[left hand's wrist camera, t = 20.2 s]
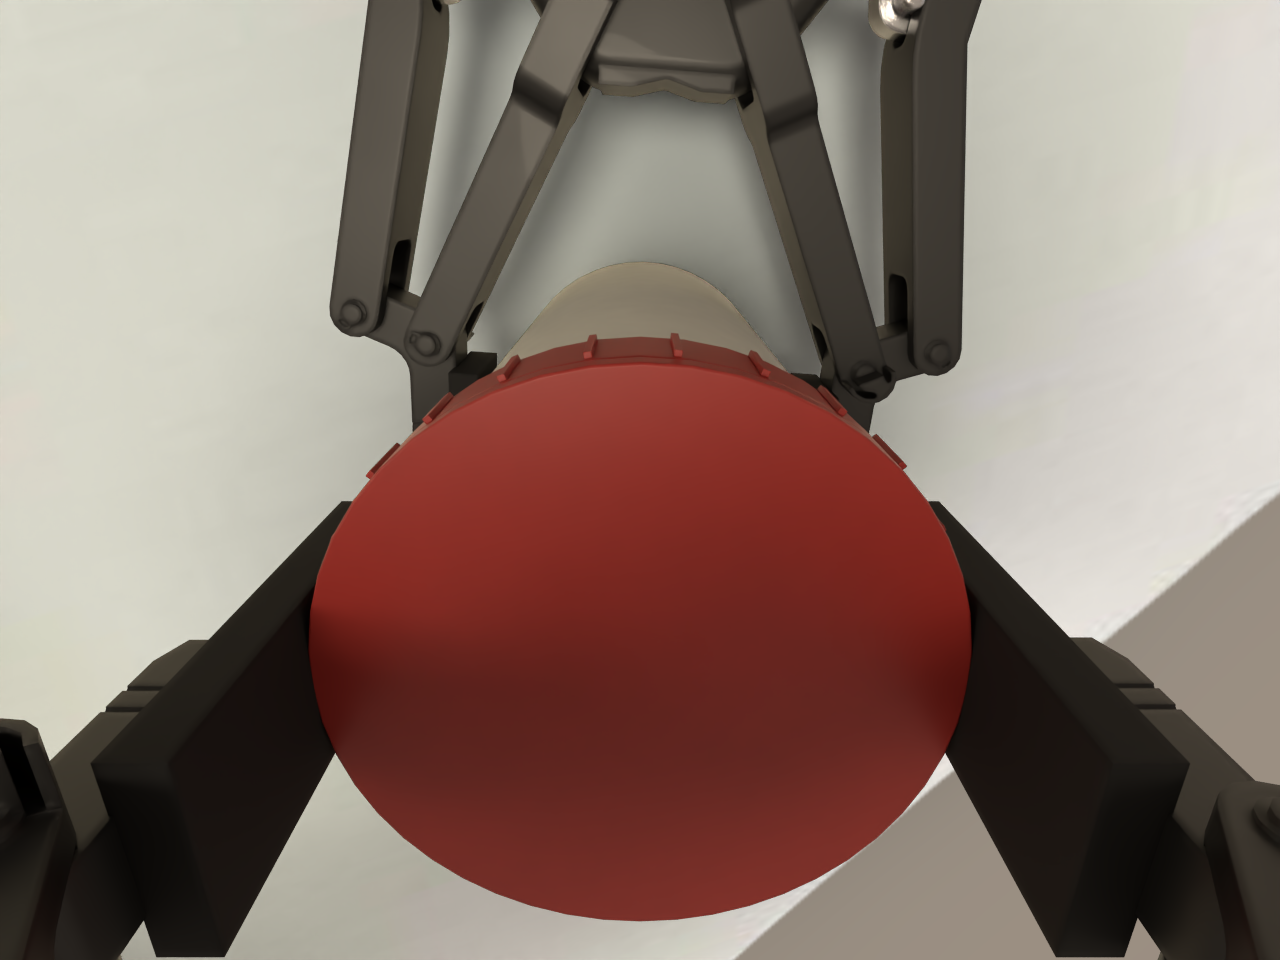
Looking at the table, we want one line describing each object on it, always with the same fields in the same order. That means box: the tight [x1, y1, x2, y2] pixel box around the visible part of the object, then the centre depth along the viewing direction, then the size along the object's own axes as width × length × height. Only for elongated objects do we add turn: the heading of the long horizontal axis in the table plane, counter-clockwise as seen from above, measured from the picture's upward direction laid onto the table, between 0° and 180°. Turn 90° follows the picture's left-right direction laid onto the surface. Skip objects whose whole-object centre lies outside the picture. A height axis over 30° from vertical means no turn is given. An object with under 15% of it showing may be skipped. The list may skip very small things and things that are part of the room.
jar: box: [492, 262, 787, 373], centre depth 19 cm, size 9×9×17 cm
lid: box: [308, 333, 972, 921], centre depth 11 cm, size 9×9×2 cm
